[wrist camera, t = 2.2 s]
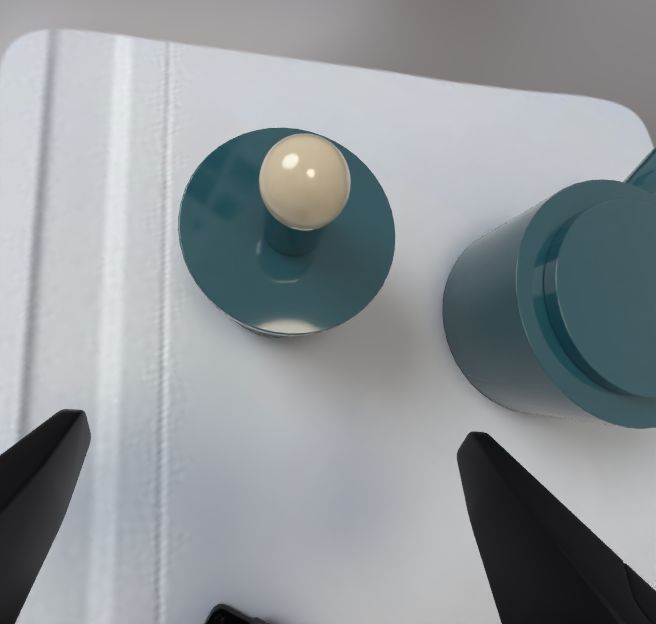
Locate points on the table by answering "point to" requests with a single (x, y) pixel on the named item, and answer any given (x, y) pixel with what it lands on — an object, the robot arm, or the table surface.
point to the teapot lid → (286, 231)
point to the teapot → (564, 305)
